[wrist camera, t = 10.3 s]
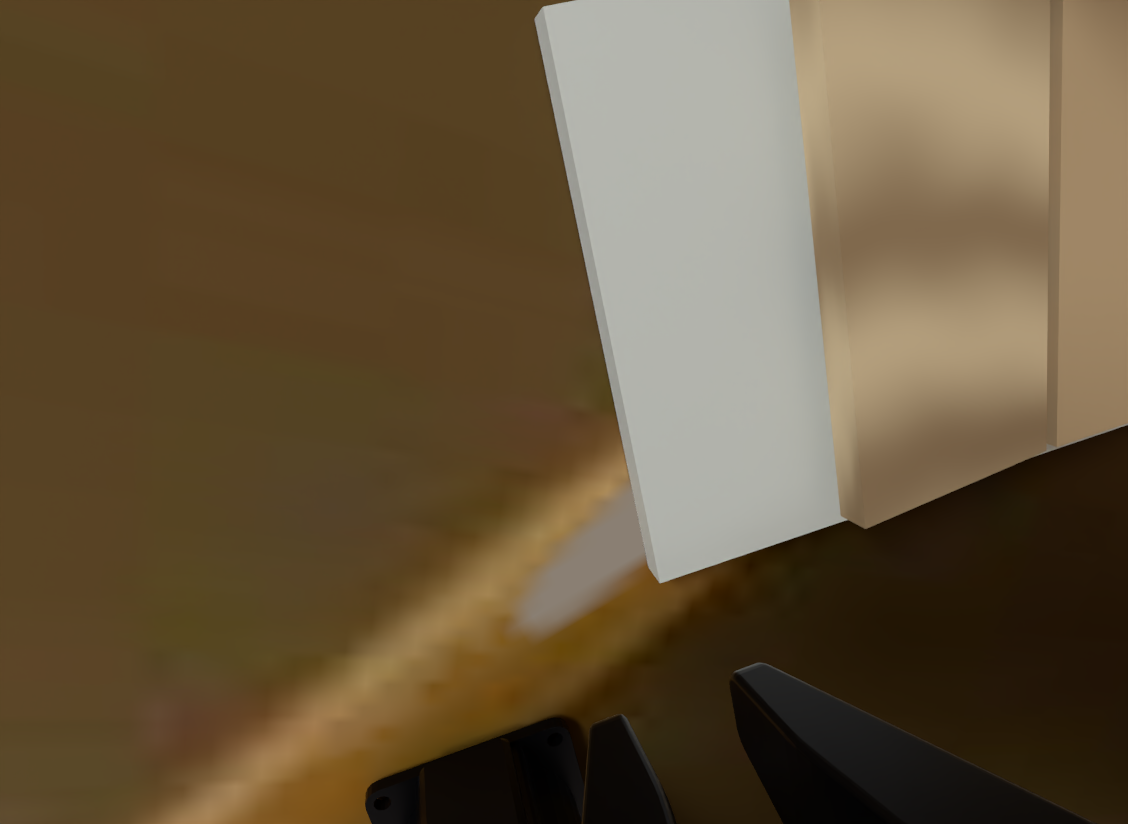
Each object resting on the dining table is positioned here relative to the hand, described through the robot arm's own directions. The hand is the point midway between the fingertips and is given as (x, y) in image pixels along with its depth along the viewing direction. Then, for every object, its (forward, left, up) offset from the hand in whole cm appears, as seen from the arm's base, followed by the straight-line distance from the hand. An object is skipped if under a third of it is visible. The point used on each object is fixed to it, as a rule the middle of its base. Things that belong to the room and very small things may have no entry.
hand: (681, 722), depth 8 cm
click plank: (+2, -12, -11) cm, 16 cm away
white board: (+2, -13, -12) cm, 18 cm away
